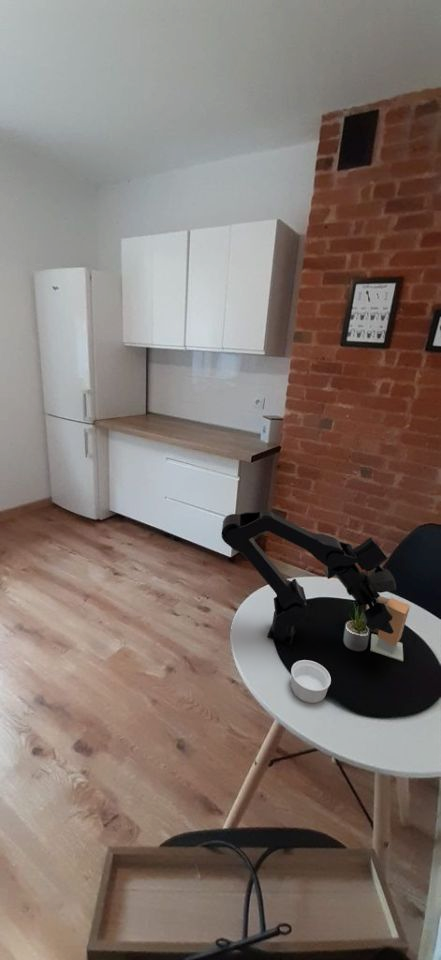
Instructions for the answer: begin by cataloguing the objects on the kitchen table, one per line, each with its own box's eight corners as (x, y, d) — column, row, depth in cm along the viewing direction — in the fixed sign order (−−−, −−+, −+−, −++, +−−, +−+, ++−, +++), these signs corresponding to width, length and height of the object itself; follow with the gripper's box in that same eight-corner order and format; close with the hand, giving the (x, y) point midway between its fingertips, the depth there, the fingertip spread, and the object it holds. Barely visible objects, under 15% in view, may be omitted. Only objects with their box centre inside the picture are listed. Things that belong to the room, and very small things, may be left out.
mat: (402, 661, 100) (403, 660, 100) (370, 650, 103) (370, 649, 103) (401, 644, 107) (402, 643, 107) (371, 634, 109) (371, 633, 109)
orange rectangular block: (392, 655, 102) (404, 613, 98) (374, 645, 104) (385, 605, 100) (398, 646, 105) (410, 605, 101) (380, 637, 108) (391, 597, 104)
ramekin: (286, 698, 86) (288, 683, 85) (290, 669, 94) (293, 655, 93) (326, 711, 84) (330, 695, 83) (328, 680, 92) (331, 666, 91)
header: (394, 638, 109) (396, 631, 108) (364, 629, 111) (366, 621, 111) (393, 607, 123) (394, 600, 122) (366, 599, 126) (368, 592, 125)
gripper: (393, 583, 89) (429, 629, 92) (369, 545, 106) (400, 585, 109) (351, 607, 91) (387, 652, 94) (335, 566, 109) (365, 605, 112)
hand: (386, 620), depth 102 cm, fingers open, 9 cm apart
